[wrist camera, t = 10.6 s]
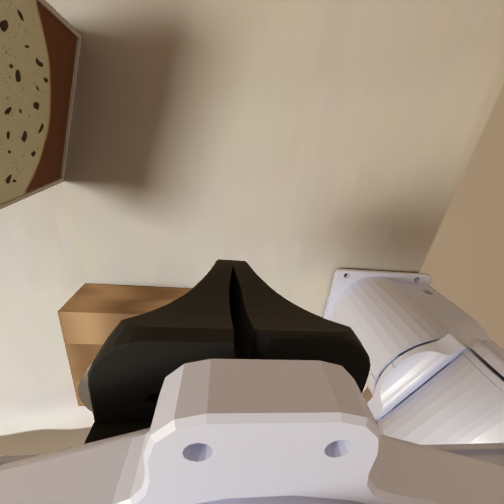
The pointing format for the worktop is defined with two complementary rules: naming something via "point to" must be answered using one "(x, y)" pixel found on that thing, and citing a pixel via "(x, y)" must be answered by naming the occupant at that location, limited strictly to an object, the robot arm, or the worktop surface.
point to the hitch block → (104, 318)
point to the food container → (35, 96)
